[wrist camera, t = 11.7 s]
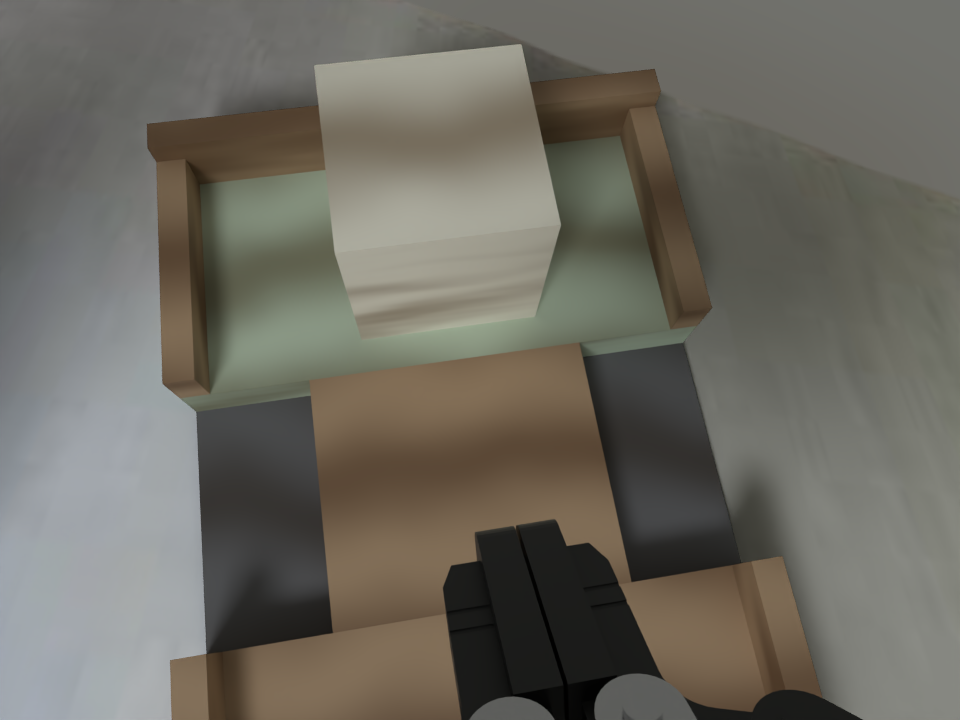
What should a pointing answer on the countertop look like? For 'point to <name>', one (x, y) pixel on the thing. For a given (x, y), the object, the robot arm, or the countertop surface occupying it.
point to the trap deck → (443, 427)
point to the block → (437, 189)
